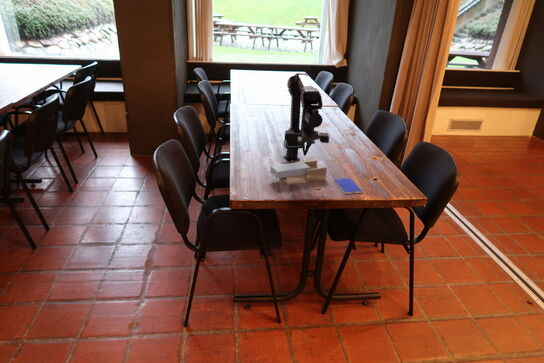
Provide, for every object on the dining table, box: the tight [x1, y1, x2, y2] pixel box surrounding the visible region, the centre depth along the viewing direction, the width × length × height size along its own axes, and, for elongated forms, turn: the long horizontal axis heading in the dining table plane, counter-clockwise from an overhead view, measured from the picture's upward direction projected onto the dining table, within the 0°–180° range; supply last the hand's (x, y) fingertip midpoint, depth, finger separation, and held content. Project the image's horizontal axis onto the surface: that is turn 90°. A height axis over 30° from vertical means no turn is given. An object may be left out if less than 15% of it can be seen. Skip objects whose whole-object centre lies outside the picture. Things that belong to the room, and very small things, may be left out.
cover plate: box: [270, 161, 310, 179], centre depth 159 cm, size 6×16×3 cm, turn 115°
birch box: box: [280, 159, 328, 186], centre depth 163 cm, size 9×19×6 cm, turn 115°
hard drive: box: [333, 177, 364, 195], centre depth 159 cm, size 2×8×12 cm
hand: (304, 155), depth 159 cm, fingers closed
